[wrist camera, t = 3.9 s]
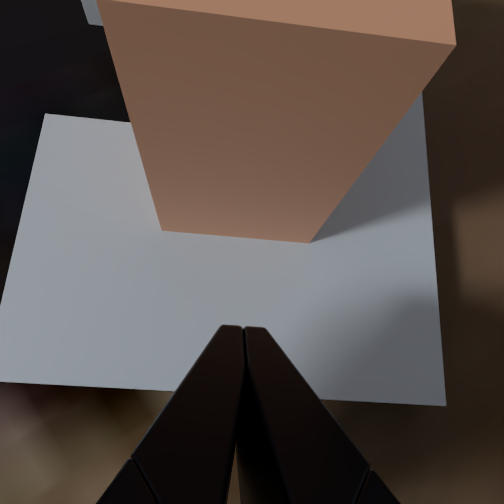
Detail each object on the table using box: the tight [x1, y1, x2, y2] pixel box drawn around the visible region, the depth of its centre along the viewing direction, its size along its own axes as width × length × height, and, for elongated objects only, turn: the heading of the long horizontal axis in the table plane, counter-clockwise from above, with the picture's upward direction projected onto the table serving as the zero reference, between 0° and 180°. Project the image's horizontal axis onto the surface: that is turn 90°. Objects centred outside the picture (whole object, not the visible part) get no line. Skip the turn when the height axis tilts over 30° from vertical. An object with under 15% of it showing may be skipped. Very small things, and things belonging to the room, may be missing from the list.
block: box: [96, 0, 456, 243], centre depth 12 cm, size 10×5×9 cm, turn 177°
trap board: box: [0, 0, 446, 406], centre depth 18 cm, size 30×14×4 cm, turn 177°
